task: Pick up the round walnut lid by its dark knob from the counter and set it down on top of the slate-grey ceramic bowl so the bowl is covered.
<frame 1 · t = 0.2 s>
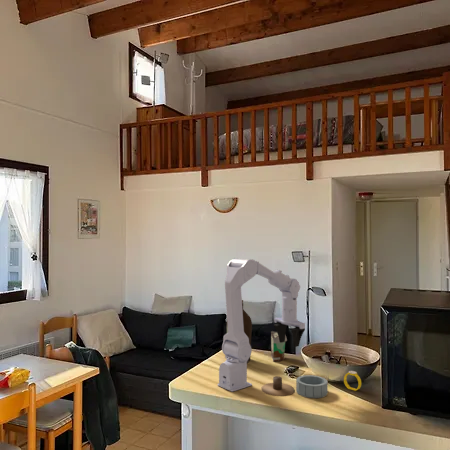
hand: (289, 344, 166), 10 cm above the kitchen counter, tool pointing down, fingers open, 7 cm apart
bowl: (311, 392, 143), on the kitchen counter
lighter: (330, 379, 156), on the kitchen counter
olive oil: (238, 360, 178), on the kitchen counter
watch: (352, 389, 146), on the kitchen counter
food container: (279, 358, 181), on the kitchen counter
lid: (277, 390, 145), on the kitchen counter
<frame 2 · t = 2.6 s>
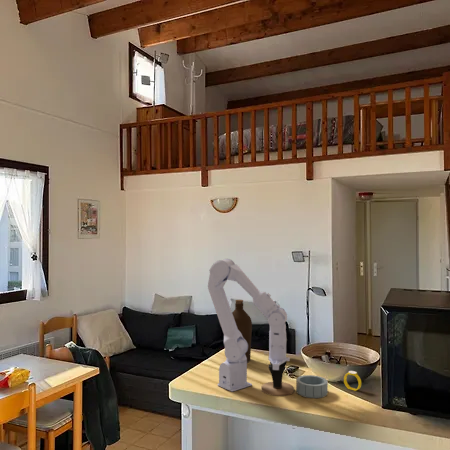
hand: (277, 384, 145), 2 cm above the kitchen counter, tool pointing down, fingers closed on lid, 3 cm apart
lid: (277, 389, 145), on the kitchen counter, touching gripper
everything else where it was.
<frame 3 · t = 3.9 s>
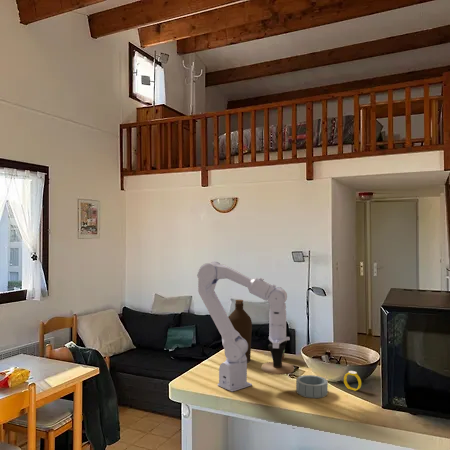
hand: (277, 364, 145), 9 cm above the kitchen counter, tool pointing down, fingers closed on lid, 3 cm apart
lid: (277, 369, 145), point 7 cm above the kitchen counter, touching gripper
everything else where it was.
when the fingers open (7 cm above the kitchen counter, at t = 5.3 s): lid drops 1 cm, resting on bowl.
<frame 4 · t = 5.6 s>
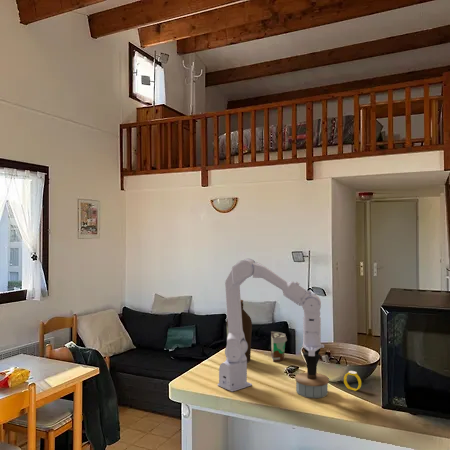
hand: (311, 371, 143), 7 cm above the kitchen counter, tool pointing down, fingers open, 5 cm apart
lid: (311, 380, 143), point 4 cm above the kitchen counter, touching bowl
everything else where it was.
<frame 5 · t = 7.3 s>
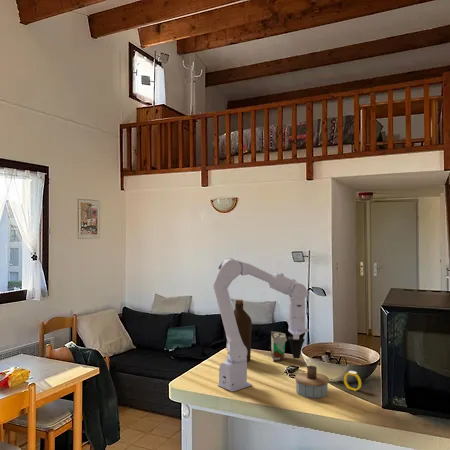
hand: (296, 354, 152), 10 cm above the kitchen counter, tool pointing down, fingers open, 7 cm apart
nothing on the kitchen counter moved.
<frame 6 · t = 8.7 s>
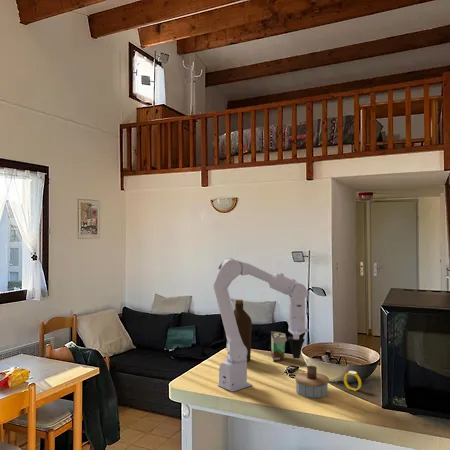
hand: (296, 354, 152), 10 cm above the kitchen counter, tool pointing down, fingers open, 7 cm apart
nothing on the kitchen counter moved.
at the end: lid 0.0 cm off-centre on the bowl, point 4.0 cm above the bowl's base; lid tilted 0°; the gripper is holding nothing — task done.
